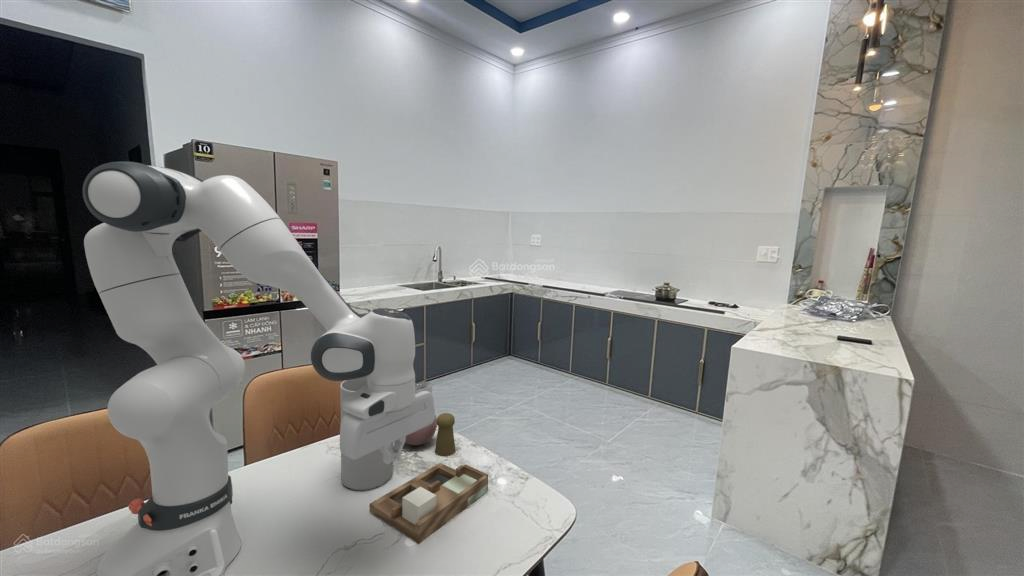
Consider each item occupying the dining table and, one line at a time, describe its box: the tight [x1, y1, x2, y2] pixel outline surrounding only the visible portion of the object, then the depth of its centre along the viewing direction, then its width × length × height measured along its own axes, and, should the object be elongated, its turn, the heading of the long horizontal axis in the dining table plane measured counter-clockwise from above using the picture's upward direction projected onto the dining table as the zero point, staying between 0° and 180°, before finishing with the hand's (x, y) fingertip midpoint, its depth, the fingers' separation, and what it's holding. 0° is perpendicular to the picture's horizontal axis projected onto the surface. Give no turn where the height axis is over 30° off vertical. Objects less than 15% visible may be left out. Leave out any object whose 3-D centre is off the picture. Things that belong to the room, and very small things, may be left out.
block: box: [402, 487, 436, 525], centre depth 88 cm, size 5×5×4 cm
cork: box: [434, 412, 456, 457], centre depth 119 cm, size 6×6×11 cm
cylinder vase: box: [339, 376, 394, 491], centre depth 104 cm, size 12×12×25 cm
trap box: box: [369, 462, 489, 545], centre depth 96 cm, size 23×16×4 cm
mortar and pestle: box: [404, 414, 438, 446], centre depth 123 cm, size 12×12×11 cm
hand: (392, 460), depth 80 cm, fingers closed
